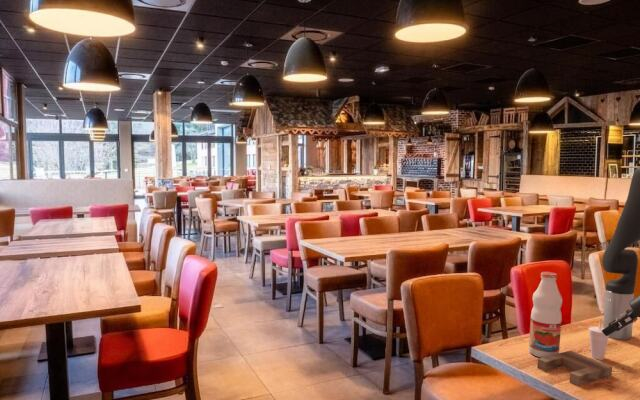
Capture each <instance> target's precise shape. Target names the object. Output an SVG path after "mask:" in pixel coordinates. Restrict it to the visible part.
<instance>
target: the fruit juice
mask: <svg viewBox="0 0 640 400" xmlns="http://www.w3.org/2000/svg"><path fill="white" fill-rule="evenodd" d="M540 278H541V280H540V283H539V284H538V286H537V289H536V290H535V291H533V294H532V303H533V307H532V309H531V313H530V326H529V341H528V342H529V343H528V350H529V353H530V354H531V355H533V356H535V357H537V358H543V357H547V356H551V355H555V354H559V353H560V346H561V344H560V343H561V332H562V329H561V328H562V311H561V308H562V304H563V298H562V295H561V293H560V291H559V288H558V285H557V281H556V280H557V279H558V273H555V272H550V271H542V272H541V273H540Z"/></svg>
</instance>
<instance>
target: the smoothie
mask: <svg viewBox="0 0 640 400" xmlns="http://www.w3.org/2000/svg"><path fill="white" fill-rule="evenodd" d="M602 319H603V318H602V317H601V316H600V317H599V324H598V326H595V325H594V326H593V325H592V326H588V332H589V344H590V356H591V357H590V358H591V359H594V360H597V361H598V360H599V361H600V360H604V359H605V354H606V350H607V346H608V341H609V338H610V337H609V335H608V336H605V334H604V333H603V332H602V330H603V329H605V328H603V326H602Z"/></svg>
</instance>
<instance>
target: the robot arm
mask: <svg viewBox="0 0 640 400" xmlns="http://www.w3.org/2000/svg"><path fill="white" fill-rule="evenodd" d="M622 209H623V210H622V211H621V214H620V216H619V217H618V221H617V223H616V227H615V230H614V233H613V236H612V238H611V240H610V241H609V243H608V245H607V247H606V248H605V251H604V253H603V255H602V260H601V261H602V262H601V265H602V269H603V270H604V271H605V272H606V273H610V274H620V275H621V276H620V277H618V278H616V279H613V280H608V281H607V282H606V283H605V292H604V305H603V306H604V307H603V321H602V322H603V324H602V328H605V329H603V330H602V332H603V333H604V334H605V336H608V335H609V337H608V338H610V339H614V340H615V339H616V340H623V341H626V340H630V339H631V338H632V336H633V324H635V323H636V322H637V320H638V318H640V294H639V295H637V296H635V295H634V294H635V287H636V281H637V273H638V266H639V257H638V254H637V252H636V251H635V250H633V249H627V248H628V247H630V246H632V245H634V244H635V243H637V242H639V241H640V166H638V167H636V169H635V170H634V172H633V174H632V178H631V181H630V184H629V190H628V194H627V198H626V199H625V203H624V207H623V208H622ZM634 296H635V297H634Z"/></svg>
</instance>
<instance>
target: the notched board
mask: <svg viewBox="0 0 640 400" xmlns="http://www.w3.org/2000/svg"><path fill="white" fill-rule="evenodd" d="M536 365H537V366H536V367H537V369H539V370H541V371H543V372H547V371H551V370H555V369H558V368H559V369H560V368H564V369H567V370H569V371H571V372H569V384H573V385H575V386H577V387H580V386H584V385H586V384H587V385H588V384H589V383H593V382H597V381H599V380H603V379H607V378H610V377H612V375H613V366H612V365H609V364H607V363H604V362H602V361H600V360H599V361H598V359H594V358H592V357H588V356H586V355H583V354H581V353H578V352H576V351H573V350H566V351H563V352H559V354H555V355H551V356H547V357H543V358H540V357H538V358H537V364H536Z"/></svg>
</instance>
